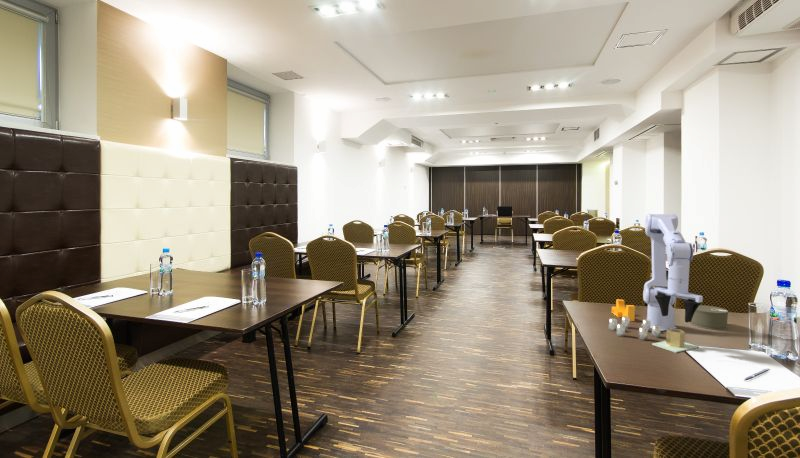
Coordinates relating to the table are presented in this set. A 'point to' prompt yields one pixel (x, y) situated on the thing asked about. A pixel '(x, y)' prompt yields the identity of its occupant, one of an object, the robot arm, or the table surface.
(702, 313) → the can
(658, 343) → the pad
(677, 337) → the brass nut
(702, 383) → the table surface
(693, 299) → the robot arm
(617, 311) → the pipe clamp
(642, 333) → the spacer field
